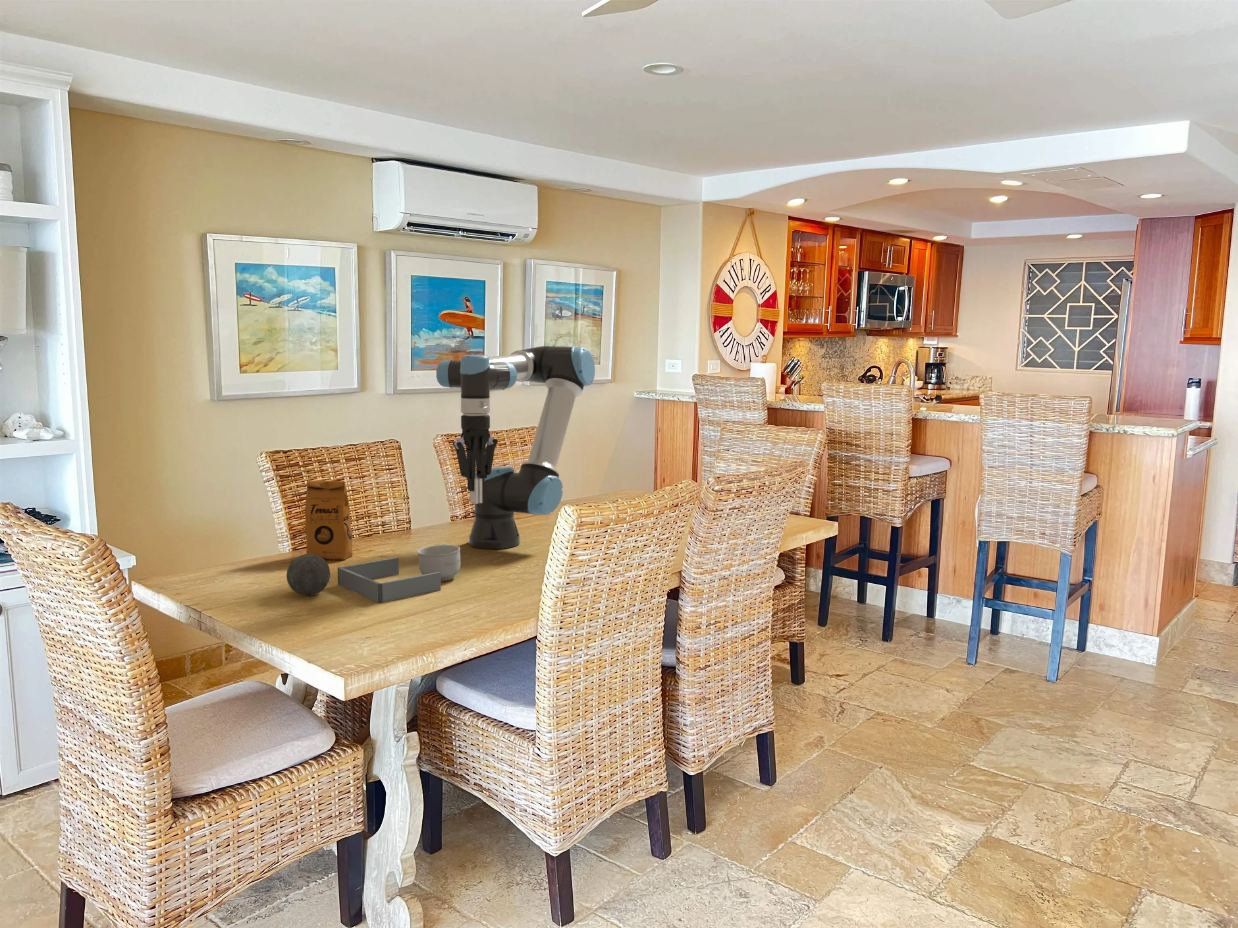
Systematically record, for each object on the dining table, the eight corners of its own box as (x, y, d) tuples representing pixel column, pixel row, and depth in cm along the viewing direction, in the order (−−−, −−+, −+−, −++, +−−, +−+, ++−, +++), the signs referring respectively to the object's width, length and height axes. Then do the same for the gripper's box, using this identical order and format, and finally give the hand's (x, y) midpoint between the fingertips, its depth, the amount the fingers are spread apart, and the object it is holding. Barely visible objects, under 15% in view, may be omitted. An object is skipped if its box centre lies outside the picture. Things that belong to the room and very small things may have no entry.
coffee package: (345, 562, 256) (343, 483, 253) (301, 561, 257) (298, 482, 254) (358, 554, 266) (356, 478, 263) (315, 552, 267) (313, 476, 264)
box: (397, 573, 245) (397, 557, 244) (440, 589, 230) (440, 572, 230) (338, 584, 234) (337, 567, 233) (379, 602, 219) (379, 584, 218)
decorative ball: (327, 599, 221) (326, 558, 219) (283, 601, 219) (282, 559, 218) (333, 588, 231) (332, 548, 229) (291, 589, 229) (289, 549, 228)
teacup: (451, 585, 235) (450, 554, 234) (411, 582, 237) (410, 552, 236) (470, 571, 248) (470, 542, 247) (432, 569, 250) (432, 540, 249)
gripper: (461, 416, 237) (462, 507, 240) (505, 413, 246) (505, 501, 249) (445, 414, 242) (446, 503, 245) (488, 411, 251) (488, 497, 255)
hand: (476, 502), depth 247 cm, fingers closed
